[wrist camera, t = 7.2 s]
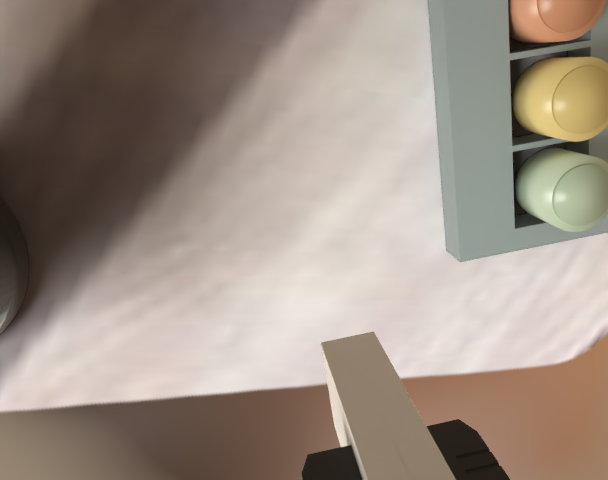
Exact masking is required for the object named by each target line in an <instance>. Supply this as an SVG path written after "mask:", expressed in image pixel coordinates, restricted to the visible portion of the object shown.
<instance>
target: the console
mask: <svg viewBox="0 0 608 480" xmlns="http://www.w3.org/2000/svg"><path fill="white" fill-rule="evenodd" d="M428 9H429V23H430V36H431V50H432V63H433V77H434V90H435V104H436V117H437V131H438V144H439V158H440V171H441V185H442V198H443V212H444V225H445V239H446V251H448V252H449V253H450V254H451V255H452V256H454V257H455V258H456V259H457V260H458V261H460V262H463V261H468V260H473V259H478V258H483V257H488V256H493V255H498V254H503V253H508V252H513V251H518V250H523V249H528V248H533V247H538V246H543V245H548V244H553V243H558V242H563V241H568V240H573V239H578V238H583V237H588V236H593V235H598V234H603V233H608V214H607V215H606V217H605V218H604V219H603V220H602V221H601V222H599V223H598V224H597V225H595V226H593V227H592V228H590V229H587V230H584V231H580V232H568V231H564V230H562V229H560V228H557V227H555V226H553V225H551V224H549V223H547V222H545V221H543V220H541V219H539V218H537V217H535V216H533V215H531V214H529V213H527V214H522V215H517V216H514V185H513V152H514V151H520V150H525V149H531V148H536V147H541V146H547V145H552V144H558V143H563V142H567V150H569V151H573V152H577V153H581V154H585V155H589V156H594V157H597V158H600V159H602V160H604V161H605V162H607V163H608V126H607V127H606V128H605V129H604V130H603V131H602V132H600V133H599V134H598V135H596V136H594V137H592V138H590V139H588V140H584V141H578V142H574V141H567V140H562V139H558V138H553V137H549V136H544V135H539V134H530V135H525V136H519V137H514V138H512V117H511V83H510V60H515V59H521V58H527V57H532V56H538V55H544V54H550V53H556V52H562V51H567V57H595V58H599V59H602V60H604V61H605V62H607V63H608V0H606V3H605V6H604V9H603V11H602V14H601V16H600V17H599V19H598V21H597V22H596V23H595V25H594V26H593V27H592V28H591V29H590V30H589V31H588V32H586V33H585V34H584V35H582V36H580V37H578V38H576V39H573V40H569V41H567V42H563V43H557V44H551V45H546V46H540V47H534V48H528V49H522V50H516V51H510V50H509V16H508V0H428Z"/></svg>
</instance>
